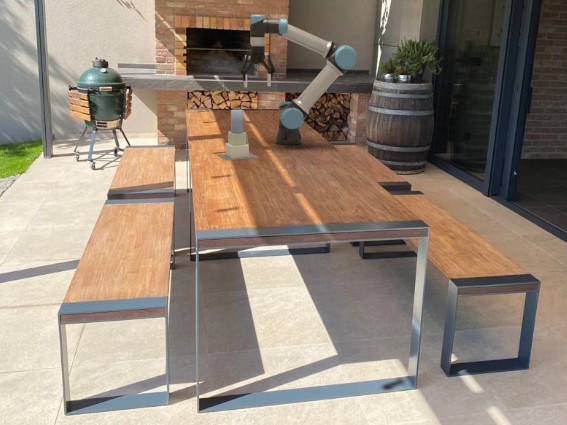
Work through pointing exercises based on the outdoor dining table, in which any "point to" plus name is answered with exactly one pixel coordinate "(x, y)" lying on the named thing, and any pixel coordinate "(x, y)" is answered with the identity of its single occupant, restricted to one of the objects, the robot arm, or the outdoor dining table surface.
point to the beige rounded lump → (246, 138)
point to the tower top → (236, 139)
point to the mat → (235, 158)
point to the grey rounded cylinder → (236, 121)
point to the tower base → (237, 151)
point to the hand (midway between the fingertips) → (257, 86)
